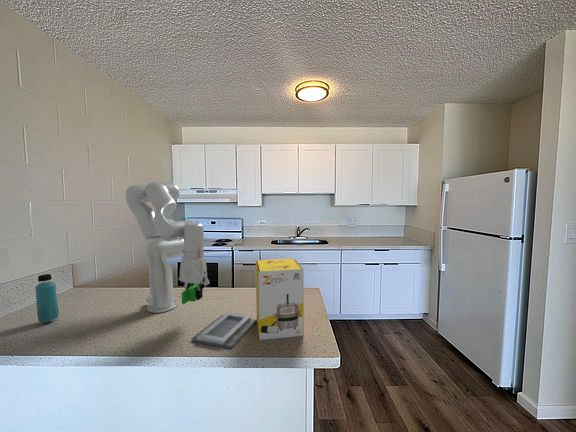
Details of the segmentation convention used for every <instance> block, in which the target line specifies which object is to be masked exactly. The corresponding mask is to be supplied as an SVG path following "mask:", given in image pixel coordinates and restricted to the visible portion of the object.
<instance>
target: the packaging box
mask: <svg viewBox="0 0 576 432" xmlns="http://www.w3.org/2000/svg"><path fill="white" fill-rule="evenodd" d="M255 295H256V296H255V299H256V303H255V305H256V321H257V322H256V324H257V326H256V327H257V334H258V340H259V341H263V340H264V341H265V340H275V339H283V338H284V339H285V338H295V337H303V336H304V268H303V267H302V266H301V264H299V262H298V261H297V259H296V258H285V259H284V258H282V259H281V258H280V259H279V258H277V259H262V260H261V259H260V260H255Z"/></svg>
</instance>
